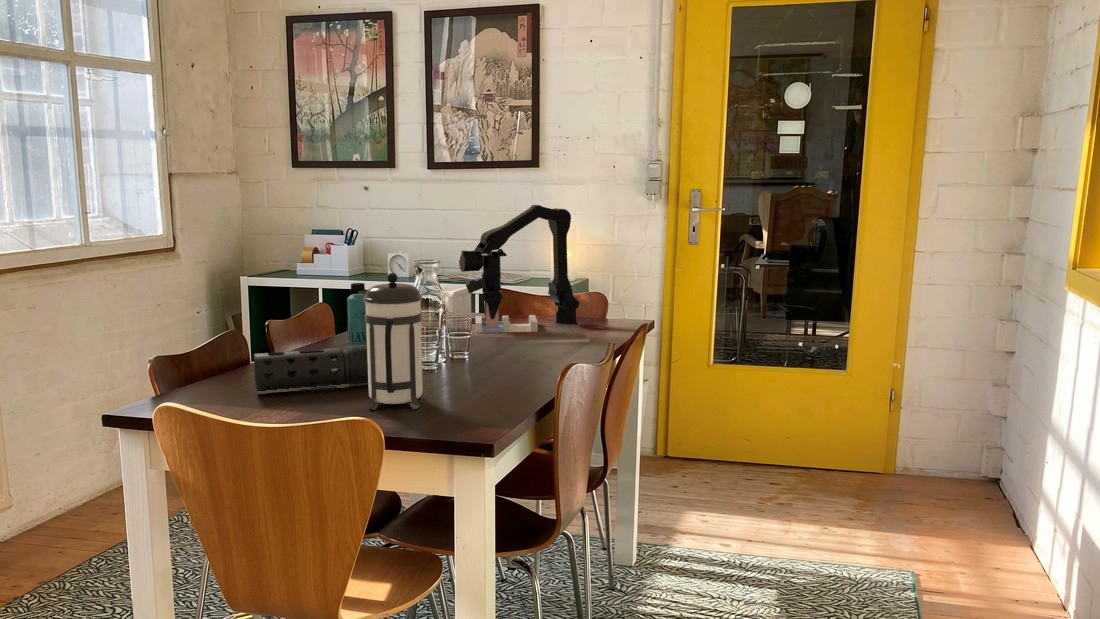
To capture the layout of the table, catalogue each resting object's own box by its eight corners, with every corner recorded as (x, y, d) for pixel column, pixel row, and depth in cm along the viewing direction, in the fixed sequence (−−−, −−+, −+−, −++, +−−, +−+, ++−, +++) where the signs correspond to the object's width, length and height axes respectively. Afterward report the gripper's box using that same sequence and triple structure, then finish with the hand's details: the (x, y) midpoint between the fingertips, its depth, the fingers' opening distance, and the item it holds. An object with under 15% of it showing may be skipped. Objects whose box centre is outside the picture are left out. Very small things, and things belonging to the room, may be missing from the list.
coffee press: (345, 405, 194) (340, 273, 189) (404, 392, 205) (400, 267, 200) (389, 420, 182) (384, 280, 177) (449, 406, 193) (446, 274, 188)
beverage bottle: (344, 352, 251) (341, 284, 248) (354, 347, 257) (352, 281, 254) (364, 353, 249) (362, 284, 246) (374, 348, 256) (372, 281, 252)
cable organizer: (446, 316, 311) (445, 285, 309) (472, 318, 308) (472, 286, 306) (426, 323, 297) (426, 290, 295) (454, 325, 294) (453, 292, 292)
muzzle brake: (255, 391, 207) (253, 349, 205) (372, 381, 217) (370, 340, 215) (256, 400, 198) (254, 357, 197) (378, 390, 208) (377, 348, 206)
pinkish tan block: (498, 326, 285) (498, 299, 284) (498, 328, 281) (498, 301, 280) (486, 326, 285) (486, 300, 283) (486, 328, 281) (486, 301, 279)
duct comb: (534, 326, 291) (534, 315, 290) (537, 334, 277) (537, 322, 277) (475, 327, 289) (475, 315, 289) (475, 335, 276) (475, 323, 275)
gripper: (467, 267, 288) (468, 313, 291) (466, 274, 270) (467, 322, 272) (500, 267, 289) (501, 312, 292) (502, 273, 271) (502, 322, 273)
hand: (492, 317), depth 282 cm, fingers open, 5 cm apart
